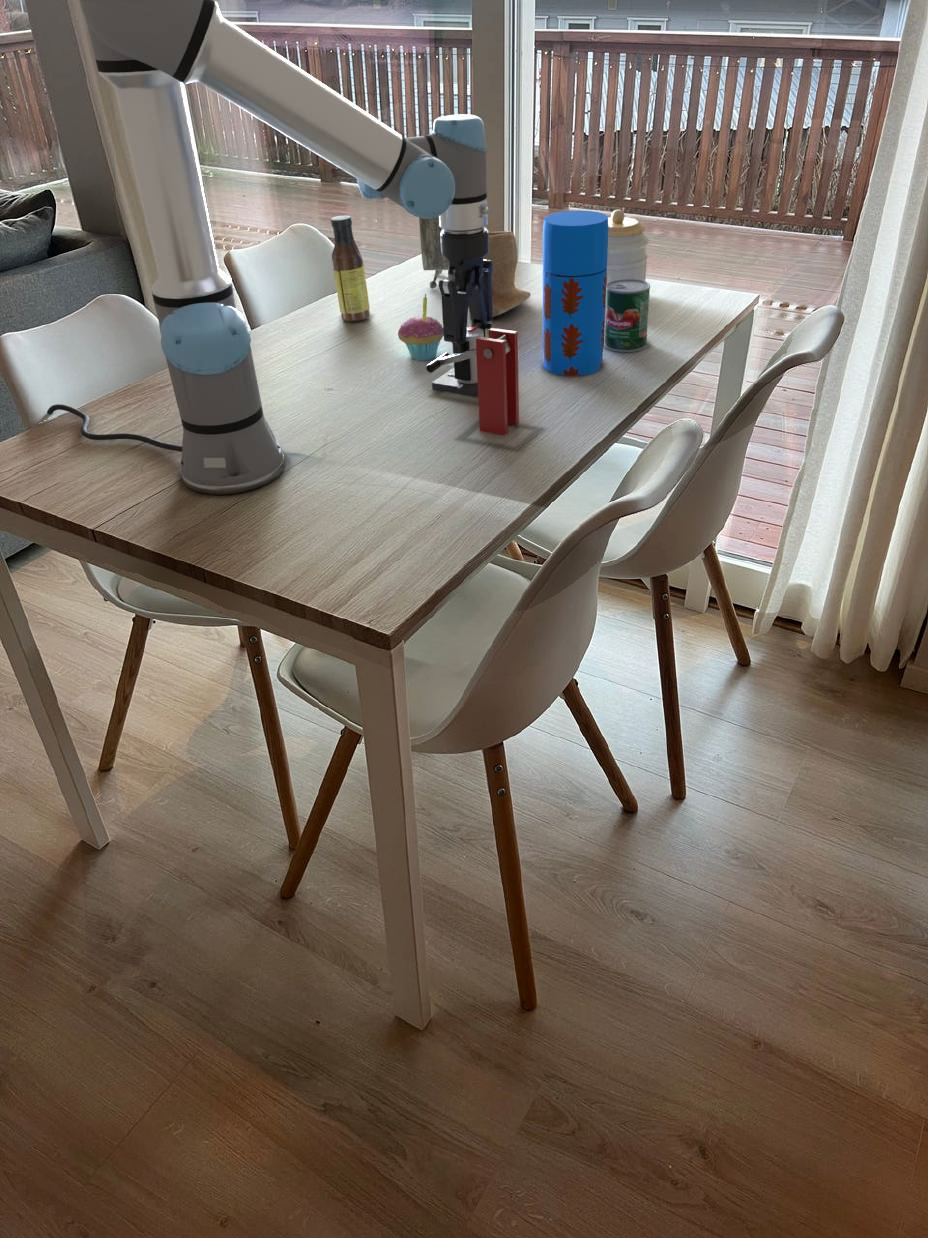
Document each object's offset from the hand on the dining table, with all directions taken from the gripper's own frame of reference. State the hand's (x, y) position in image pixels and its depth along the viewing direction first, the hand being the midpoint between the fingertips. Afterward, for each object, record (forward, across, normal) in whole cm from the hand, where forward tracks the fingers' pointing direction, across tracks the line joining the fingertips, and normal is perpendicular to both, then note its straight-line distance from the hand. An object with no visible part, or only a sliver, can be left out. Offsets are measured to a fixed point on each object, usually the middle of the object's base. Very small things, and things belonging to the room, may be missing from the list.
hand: (470, 372), depth 157 cm
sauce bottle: (+4, +25, +42) cm, 50 cm away
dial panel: (+4, 0, 0) cm, 4 cm away
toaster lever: (-8, -13, -8) cm, 17 cm away
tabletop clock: (+4, +54, +37) cm, 66 cm away
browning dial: (+1, 0, 0) cm, 1 cm away
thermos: (+4, +18, -11) cm, 21 cm away
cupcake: (+4, +12, +17) cm, 21 cm away
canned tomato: (+4, +31, -16) cm, 35 cm away
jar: (+4, +56, -3) cm, 56 cm away
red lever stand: (+4, -13, -12) cm, 18 cm away
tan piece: (+4, +42, +18) cm, 45 cm away
